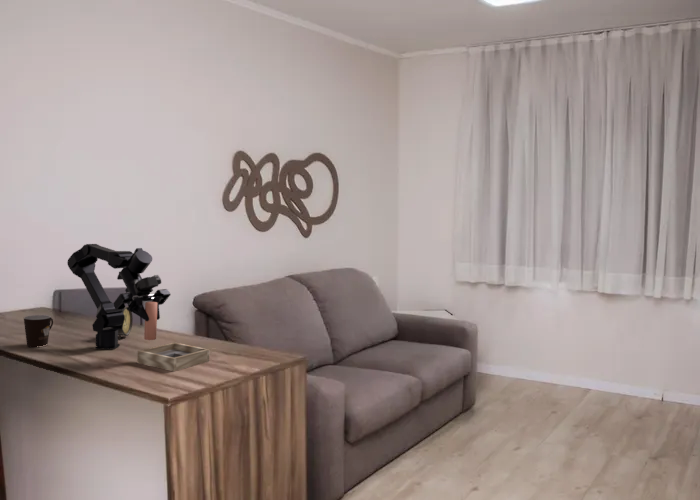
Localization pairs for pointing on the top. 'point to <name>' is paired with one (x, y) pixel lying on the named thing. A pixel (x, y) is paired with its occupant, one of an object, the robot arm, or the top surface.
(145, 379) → the top surface
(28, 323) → the coffee mug
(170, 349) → the box
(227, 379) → the top surface
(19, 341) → the top surface
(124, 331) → the alarm clock
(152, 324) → the peg
